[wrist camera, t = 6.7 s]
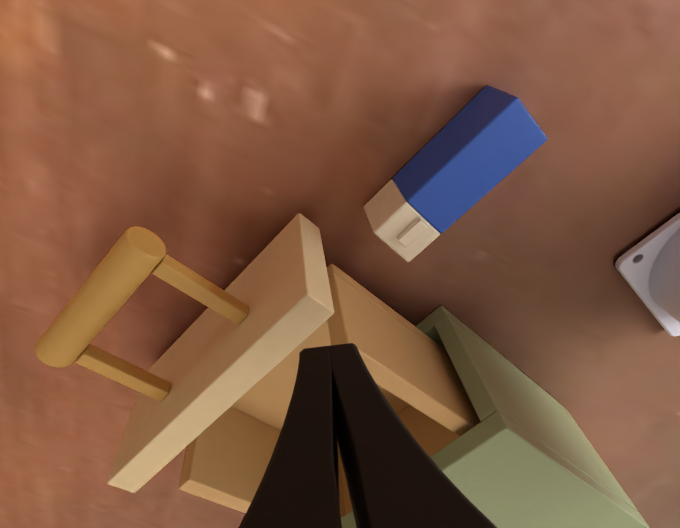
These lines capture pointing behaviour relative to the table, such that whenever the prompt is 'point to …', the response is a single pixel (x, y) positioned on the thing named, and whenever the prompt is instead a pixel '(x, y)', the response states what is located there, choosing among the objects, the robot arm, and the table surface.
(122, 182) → the table surface
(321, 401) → the robot arm
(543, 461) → the cabinet
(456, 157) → the blue usb stick
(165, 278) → the drawer
